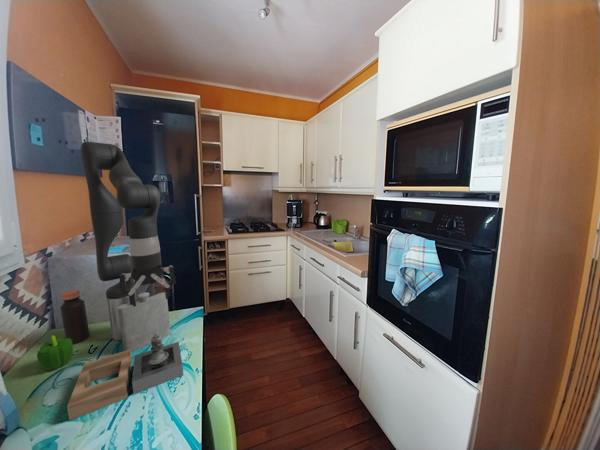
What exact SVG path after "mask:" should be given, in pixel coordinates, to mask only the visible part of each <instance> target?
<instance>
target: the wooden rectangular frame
mask: <svg viewBox="0 0 600 450" xmlns="http://www.w3.org/2000/svg"><path fill="white" fill-rule="evenodd" d="M132 363H133V359H132V352H131V350H127V351H124V350H123V351H121V352H116V353H114V354H110V355H107V356H104V357H101V358H98V359H94V360H92V361H87V362H84V364H83V366H82V368H81V371H80V373H79V375H78V379H77V380H76V384H75V386H74V388H73V391H72V393H71V396H70V397H69V401H68V403H67V406H66V410H67V414H68V419H69V421H72V420H74V419H77V418H80V417H82V416H85V415H87V414H90V413H92V412H95V411H97V410H100V409H103V408H105V407H108V406H110V405H113V404H115V403H118V402H121V401H123V400H126V399H128V393H129V386H130V385H129V384H130V377H131V371H132V370H131V368H132ZM117 374H118V377H115V378H112V379H108V380H105V381H103V382H100V383H97V384H94V385H91V384H92V383H93V382H95V381H96V382H97V381H99V380H102V379H105V378H109V377H111V376H114V375H117ZM92 381H93V382H92ZM90 383H91V384H90ZM89 386H90V387H89Z"/></svg>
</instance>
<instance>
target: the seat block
mask: <svg viewBox="0 0 600 450" xmlns="http://www.w3.org/2000/svg"><path fill="white" fill-rule="evenodd" d="M162 348H163V352H167V353H168V354H169V355H168V358H167V361H166V362H168V365H166V366H163V367H161V368H158V369H155V370H152V371H150V368H151V366H150V365H149V364H148V362H147V361H148V359H149V357H151V356H152V351H151V349H150V350H148V351H145V352H142V353H138V354H135V355H134V359H133V360H134V362H133V370H132V379H131V385H132V393H133V395H136V394H139V393H140V392H143V391H146V390H148V389H151V388H154V387H156V386H159V385H162V384H163V383H167V382H169V381H172V380H174V379H177V378H179V377H182V376H184V367H183V362H182V361H183V359H182V355H181V349H180V343H179V341H175V342H173V343H170V344H167V345H163V347H162Z"/></svg>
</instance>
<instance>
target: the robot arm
mask: <svg viewBox="0 0 600 450" xmlns="http://www.w3.org/2000/svg"><path fill="white" fill-rule="evenodd" d="M80 154H81V160H82V166H83V170H84V175H85V180H86V185H87V190H88V197H89V198H88V201H89V210H90V217H91V218H90V219H91V223H92V229H93V234H94V242H95V253H96V256H95V258H96V269H97V270H96V271H97V275H98V278H99V280H100V281H101V282H110V281H113V280H118V279H119V282H117V283H116V284H114V285H112V286H110V287H109V288H108V289H106V291H105V296H106V303H107V310H108V317H109V324H110V331H111V337H112V339H113V340H114V341H122V335H121V328H120V320H119V313H118V307H119V306H121V305H124V304H128V303H130V305H133V307H135V306H136V300H137V296H136V291H137V290H138V289H139V287H140V286H147V285H150V284H151V285H153V284H156V283H157V282H158V284H160V285H161V286H163V287H164V292H165V296H166V299H167V300H169V298H170V297H171V287H172V286H174V285H176V284H177V282H176V281H177V280H176V277H175V276H176V275H175V268H174V265H172V264H170V265H169V266H166V267H163V266H162V255H161V247H160V240H159V235H158V226H157V221H158V219H157V218H158V213H159V208H160V206H161V205H160V204H161V193H160V190H159V188H158V187H157V186H155V185H153V184H143V181H142V180H141V178H140V177H139V176H138V175H137V174H136V173H135V172H134V171H133V169H132V168H131V166H130V164H129V161H128V160H127V158H126V156H125V154H124V152H123V150H122V149H121V148H120V147H119V146H118V145H116V144H112V143H103V142H94V141H83V142H82V143H81V146H80ZM98 171H109V172H108V178H109V181H110V183H111V184H112V186H113V187H114V188H115V190H116V196H115V195H113V193H112V192H110V190H109V189H108V188H107V186H106V185H105V184H104V183H103V181H102V179H101V177H100V175H99V172H98ZM123 209H126V210H141V209H142V210H143V209H145V210H144V212H143V214H141V215H138V216H135V217H132V218H130V219H128V220H127V228H128V236H129V254H128V253H124V254H123V253H122V254H118V255H117V254H116V255H111V256H108V254H109V251H110V247H111V246H112V243H113V242H114V240H115V238H116V237H117V236H118V234H119V232H120V231H121V229H122V227H123V225H124V219H125V218H124V211H123ZM164 272H165V273H167V274H169V276H170V280H169V281H168V280H166V279H165V278H164V276H162V275H163V274H164Z"/></svg>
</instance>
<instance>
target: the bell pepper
mask: <svg viewBox="0 0 600 450" xmlns="http://www.w3.org/2000/svg"><path fill="white" fill-rule="evenodd" d="M50 339H51V341H49V342H45V343H43V344H42V345H41V346H40V348H39V350H38V351H37V353H36V359H37V361H38V363H39V364H40V366H41V367H42V368H43V369H44V370H46V371H54V370H57V369H59V368H60V367H62V366H65V365H67V364H69V362H71V360H72V358H73V357H72V356H73V352H74V344H72V340H71V339H70V338H67V339H66V338H64V339H63V338H59V337H58V338H56V336H55V335H54V334H53V335H50Z"/></svg>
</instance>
